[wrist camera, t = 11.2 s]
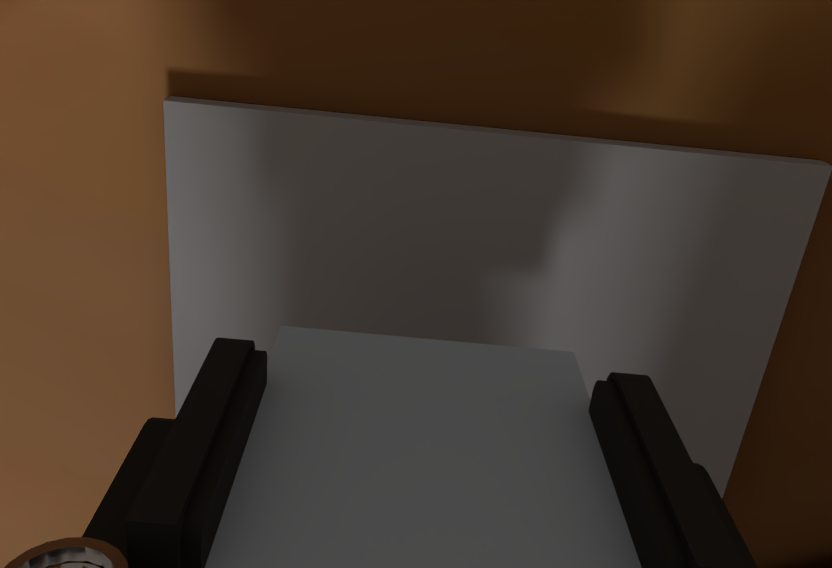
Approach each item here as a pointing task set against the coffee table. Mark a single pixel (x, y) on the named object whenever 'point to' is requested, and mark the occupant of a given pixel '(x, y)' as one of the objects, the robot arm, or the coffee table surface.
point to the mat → (489, 247)
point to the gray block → (421, 460)
